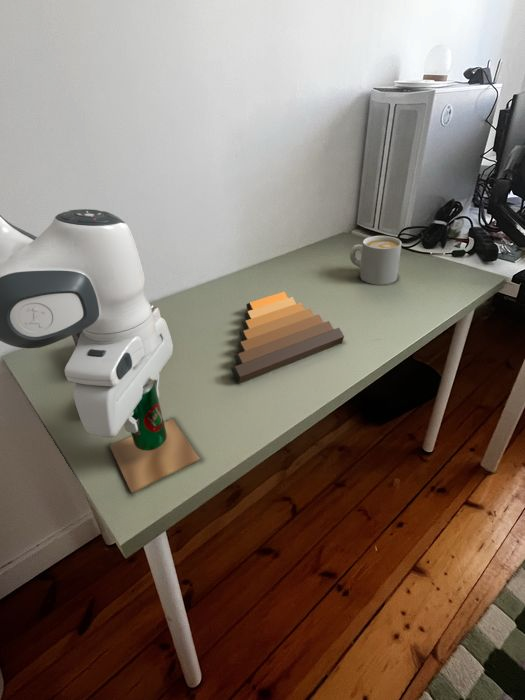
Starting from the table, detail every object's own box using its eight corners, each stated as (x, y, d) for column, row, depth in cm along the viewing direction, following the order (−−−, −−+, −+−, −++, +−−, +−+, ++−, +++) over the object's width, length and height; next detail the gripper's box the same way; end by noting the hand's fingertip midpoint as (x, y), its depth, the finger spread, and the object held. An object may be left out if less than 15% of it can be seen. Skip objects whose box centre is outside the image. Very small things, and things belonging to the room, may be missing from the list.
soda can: (132, 435, 69) (113, 375, 62) (163, 425, 70) (148, 365, 64) (138, 457, 65) (119, 395, 58) (171, 446, 66) (156, 384, 60)
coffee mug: (403, 275, 120) (408, 240, 114) (385, 288, 114) (389, 251, 108) (362, 264, 128) (364, 231, 122) (342, 275, 122) (344, 241, 116)
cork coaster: (131, 493, 63) (130, 491, 63) (110, 447, 71) (109, 445, 71) (199, 460, 68) (199, 458, 67) (172, 420, 75) (172, 418, 75)
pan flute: (240, 385, 83) (343, 344, 93) (239, 371, 81) (344, 331, 91) (190, 330, 101) (281, 301, 111) (188, 317, 99) (280, 289, 109)
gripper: (136, 298, 66) (153, 371, 73) (54, 379, 49) (88, 462, 57) (174, 300, 64) (188, 374, 72) (104, 385, 48) (131, 469, 56)
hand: (143, 414), depth 64 cm, fingers closed on soda can, 5 cm apart
